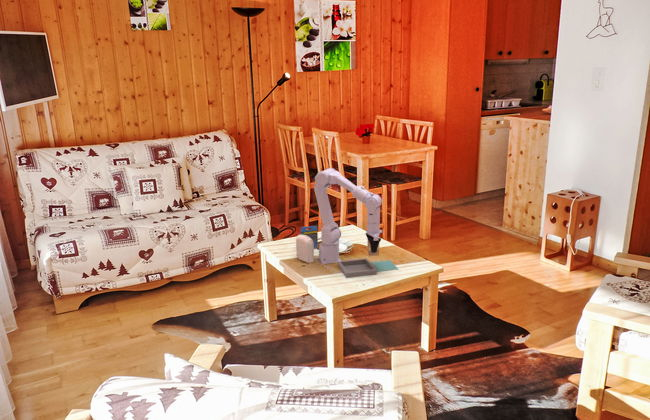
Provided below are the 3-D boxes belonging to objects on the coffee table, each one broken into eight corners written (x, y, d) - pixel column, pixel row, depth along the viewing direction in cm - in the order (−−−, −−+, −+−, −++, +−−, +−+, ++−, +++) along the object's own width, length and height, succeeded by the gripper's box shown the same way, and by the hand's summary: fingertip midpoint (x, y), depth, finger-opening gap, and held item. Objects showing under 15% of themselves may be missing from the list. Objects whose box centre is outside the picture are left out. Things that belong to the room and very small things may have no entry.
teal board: (375, 272, 231) (375, 271, 231) (367, 263, 241) (367, 262, 241) (398, 270, 234) (398, 269, 234) (389, 261, 244) (389, 260, 244)
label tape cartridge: (316, 245, 265) (315, 223, 261) (318, 248, 261) (317, 225, 258) (299, 247, 262) (298, 224, 259) (301, 250, 259) (300, 227, 255)
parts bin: (346, 278, 225) (346, 273, 225) (338, 266, 238) (337, 261, 238) (376, 275, 229) (376, 269, 228) (366, 263, 242) (366, 258, 241)
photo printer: (295, 257, 249) (294, 233, 246) (302, 255, 252) (301, 232, 248) (308, 264, 241) (307, 239, 238) (315, 261, 244) (314, 237, 240)
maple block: (379, 255, 232) (379, 242, 230) (369, 255, 231) (369, 243, 230) (377, 251, 236) (377, 239, 234) (367, 252, 236) (367, 239, 234)
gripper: (385, 226, 223) (384, 255, 227) (378, 216, 237) (378, 244, 241) (369, 227, 222) (369, 256, 226) (363, 217, 236) (363, 244, 240)
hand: (372, 250), depth 233 cm, fingers closed on maple block, 4 cm apart
